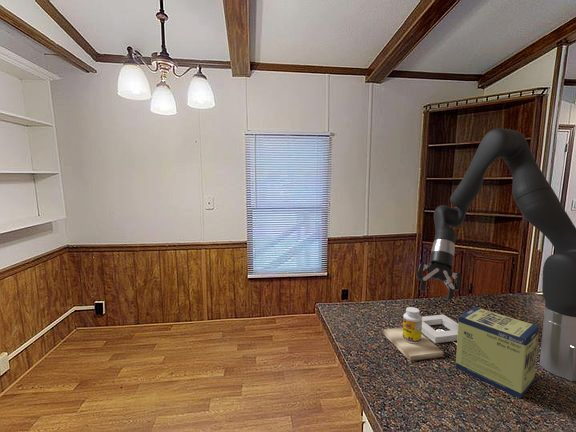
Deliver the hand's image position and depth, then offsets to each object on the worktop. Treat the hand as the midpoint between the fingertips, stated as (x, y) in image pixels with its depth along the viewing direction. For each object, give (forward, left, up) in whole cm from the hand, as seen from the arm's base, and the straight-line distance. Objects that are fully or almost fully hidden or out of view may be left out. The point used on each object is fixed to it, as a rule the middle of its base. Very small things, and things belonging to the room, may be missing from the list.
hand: (435, 296), depth 103 cm
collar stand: (-1, -1, -12) cm, 12 cm away
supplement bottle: (-7, +13, -11) cm, 19 cm away
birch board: (-7, +14, -12) cm, 20 cm away
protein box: (-25, +1, -13) cm, 28 cm away
